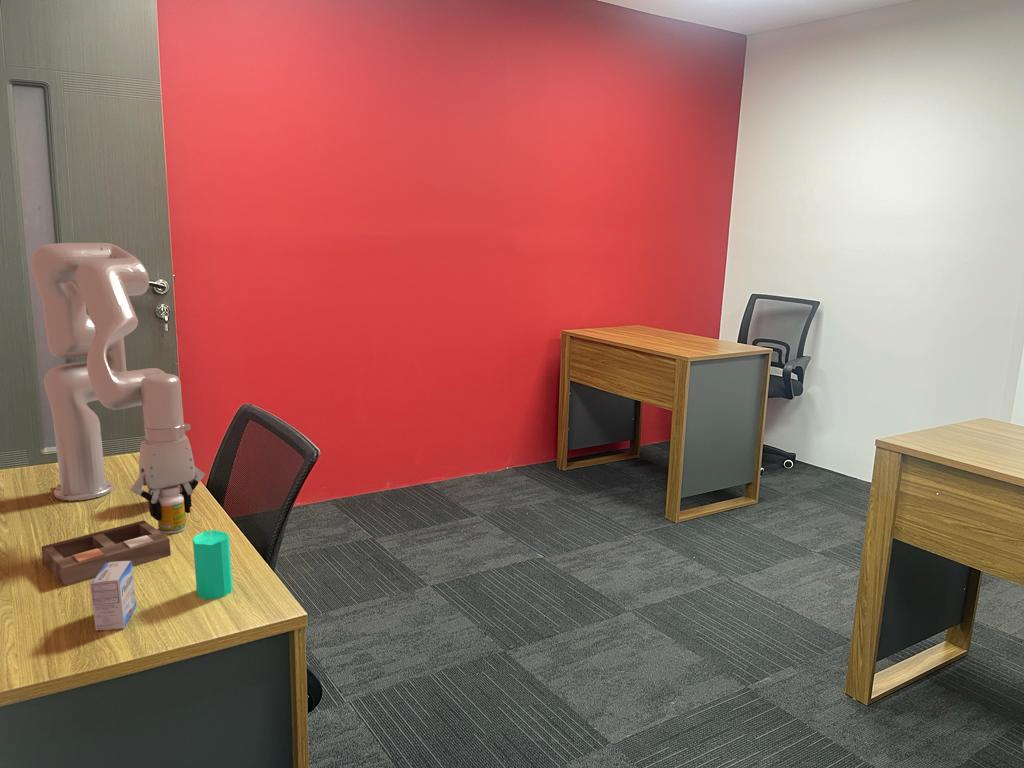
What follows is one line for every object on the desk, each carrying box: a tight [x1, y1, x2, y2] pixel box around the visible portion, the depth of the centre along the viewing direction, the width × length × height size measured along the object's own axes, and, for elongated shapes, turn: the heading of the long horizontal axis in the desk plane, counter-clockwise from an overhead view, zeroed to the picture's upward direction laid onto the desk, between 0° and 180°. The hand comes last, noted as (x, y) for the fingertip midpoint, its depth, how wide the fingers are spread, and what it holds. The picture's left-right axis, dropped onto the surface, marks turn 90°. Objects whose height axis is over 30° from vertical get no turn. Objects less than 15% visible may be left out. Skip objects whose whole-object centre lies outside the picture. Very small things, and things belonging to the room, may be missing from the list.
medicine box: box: [89, 561, 137, 632], centre depth 127 cm, size 8×4×9 cm, turn 12°
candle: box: [192, 528, 234, 600], centre depth 137 cm, size 6×6×12 cm
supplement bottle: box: [157, 485, 187, 535], centre depth 163 cm, size 5×5×10 cm
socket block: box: [41, 520, 172, 587], centre depth 149 cm, size 13×19×4 cm
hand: (171, 514), depth 164 cm, fingers closed on supplement bottle, 5 cm apart
